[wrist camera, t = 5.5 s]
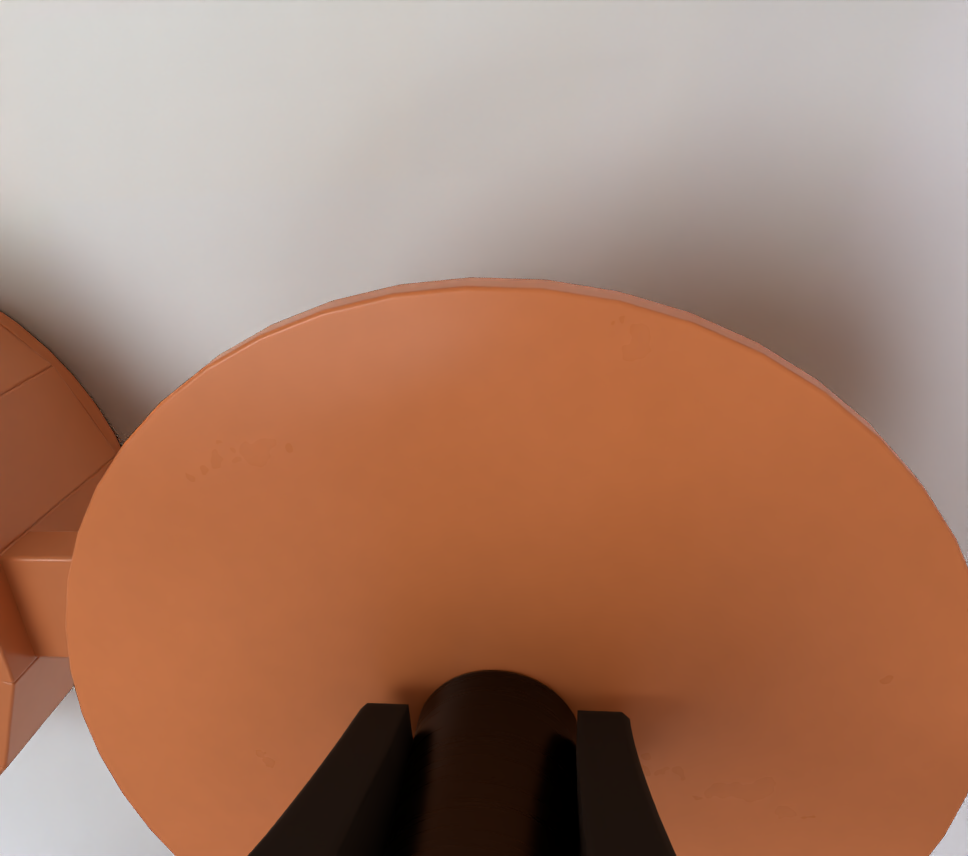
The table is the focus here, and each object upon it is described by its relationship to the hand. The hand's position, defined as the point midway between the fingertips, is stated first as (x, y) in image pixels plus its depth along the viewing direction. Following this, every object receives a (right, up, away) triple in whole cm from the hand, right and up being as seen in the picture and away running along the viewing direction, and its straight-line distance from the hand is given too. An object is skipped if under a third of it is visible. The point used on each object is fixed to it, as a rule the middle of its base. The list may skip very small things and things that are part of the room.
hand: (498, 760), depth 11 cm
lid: (0, 0, +1) cm, 1 cm away
